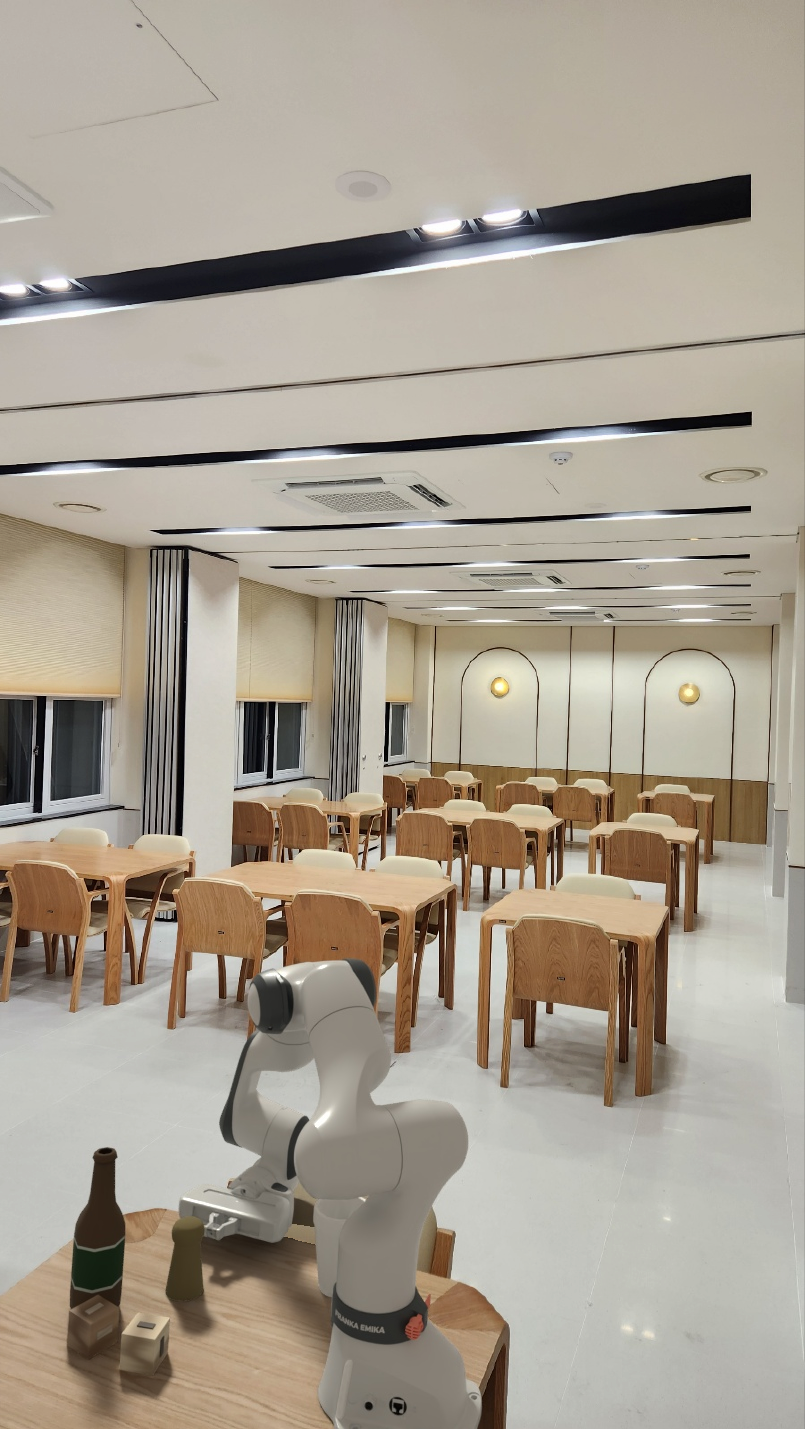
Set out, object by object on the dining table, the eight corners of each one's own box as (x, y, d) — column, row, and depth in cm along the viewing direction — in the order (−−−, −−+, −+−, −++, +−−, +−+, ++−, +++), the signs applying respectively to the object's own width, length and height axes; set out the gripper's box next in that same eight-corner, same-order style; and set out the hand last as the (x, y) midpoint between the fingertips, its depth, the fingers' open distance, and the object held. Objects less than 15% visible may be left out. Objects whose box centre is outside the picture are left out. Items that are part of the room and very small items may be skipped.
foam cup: (300, 1295, 146) (305, 1213, 147) (321, 1265, 155) (326, 1188, 155) (355, 1309, 143) (360, 1225, 144) (373, 1277, 152) (378, 1199, 153)
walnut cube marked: (117, 1342, 132) (120, 1307, 133) (88, 1360, 128) (91, 1323, 128) (95, 1328, 135) (98, 1293, 135) (66, 1345, 131) (69, 1309, 131)
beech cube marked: (168, 1353, 131) (171, 1316, 131) (153, 1376, 126) (156, 1338, 126) (135, 1347, 132) (138, 1311, 132) (119, 1369, 127) (121, 1332, 127)
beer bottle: (87, 1330, 135) (98, 1167, 136) (58, 1308, 139) (69, 1150, 140) (131, 1306, 141) (141, 1150, 142) (101, 1286, 146) (111, 1135, 146)
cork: (194, 1303, 142) (198, 1232, 143) (158, 1297, 143) (163, 1227, 144) (209, 1282, 148) (213, 1213, 149) (174, 1276, 149) (179, 1208, 150)
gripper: (203, 1168, 169) (160, 1201, 156) (301, 1191, 162) (265, 1228, 149) (201, 1202, 169) (157, 1238, 156) (299, 1227, 162) (262, 1267, 149)
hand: (211, 1234), depth 153 cm, fingers closed
